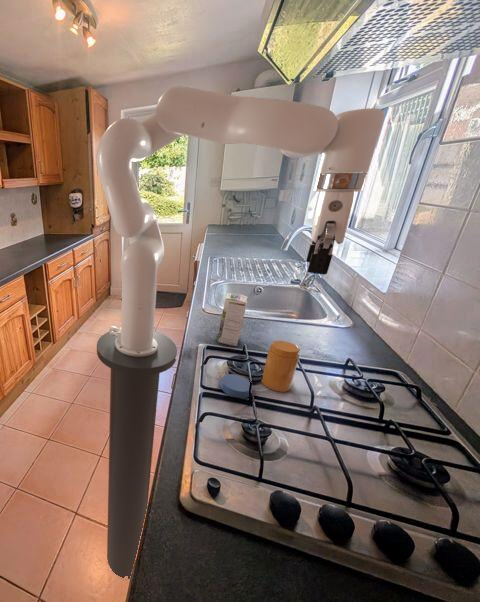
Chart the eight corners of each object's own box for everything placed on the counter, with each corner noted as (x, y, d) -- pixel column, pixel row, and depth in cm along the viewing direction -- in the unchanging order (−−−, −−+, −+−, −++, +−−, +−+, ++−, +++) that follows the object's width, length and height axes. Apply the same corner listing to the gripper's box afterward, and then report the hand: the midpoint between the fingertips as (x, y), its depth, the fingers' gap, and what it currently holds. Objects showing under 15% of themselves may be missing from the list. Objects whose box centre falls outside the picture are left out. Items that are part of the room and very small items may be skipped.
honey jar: (260, 386, 72) (270, 348, 68) (261, 373, 77) (270, 337, 73) (290, 394, 69) (302, 355, 65) (289, 381, 74) (300, 343, 70)
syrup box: (219, 334, 97) (226, 292, 91) (239, 338, 94) (248, 295, 88) (216, 342, 92) (224, 298, 87) (238, 347, 89) (247, 302, 84)
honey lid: (253, 386, 72) (254, 380, 72) (249, 402, 67) (250, 395, 67) (223, 377, 76) (224, 371, 75) (217, 391, 71) (218, 385, 70)
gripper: (373, 184, 50) (342, 281, 57) (357, 182, 64) (333, 260, 70) (317, 184, 54) (294, 275, 61) (313, 182, 68) (294, 257, 74)
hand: (315, 267), depth 65 cm, fingers open, 9 cm apart
